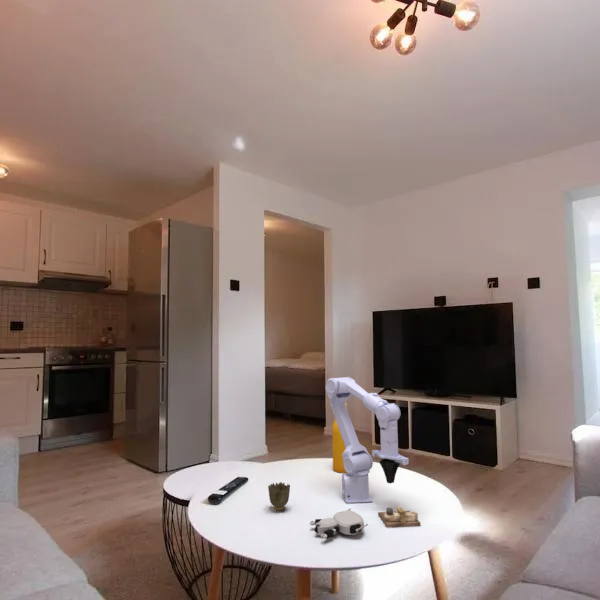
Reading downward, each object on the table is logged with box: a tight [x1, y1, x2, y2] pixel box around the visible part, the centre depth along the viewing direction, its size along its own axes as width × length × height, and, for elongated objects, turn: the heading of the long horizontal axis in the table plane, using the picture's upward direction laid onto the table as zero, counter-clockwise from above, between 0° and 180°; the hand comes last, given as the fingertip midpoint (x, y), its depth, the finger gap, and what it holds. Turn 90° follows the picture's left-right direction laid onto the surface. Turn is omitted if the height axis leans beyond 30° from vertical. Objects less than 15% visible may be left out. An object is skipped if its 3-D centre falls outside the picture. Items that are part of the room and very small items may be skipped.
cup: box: [267, 481, 291, 512], centre depth 144 cm, size 8×7×8 cm
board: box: [377, 507, 421, 528], centre depth 134 cm, size 11×9×4 cm
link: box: [385, 511, 419, 522], centre depth 132 cm, size 10×3×2 cm, turn 92°
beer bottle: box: [331, 402, 348, 474], centre depth 189 cm, size 9×9×29 cm
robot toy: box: [309, 508, 369, 540], centre depth 126 cm, size 12×4×15 cm
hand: (390, 482), depth 142 cm, fingers closed
